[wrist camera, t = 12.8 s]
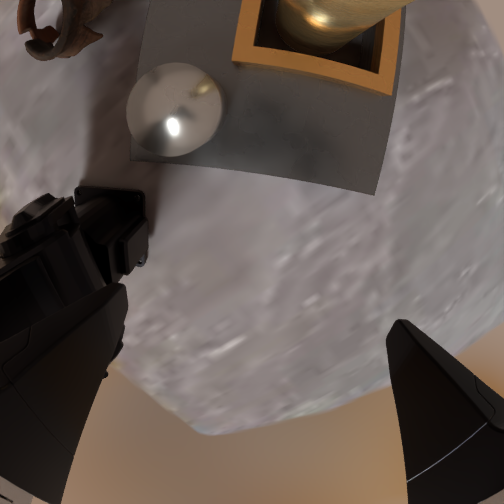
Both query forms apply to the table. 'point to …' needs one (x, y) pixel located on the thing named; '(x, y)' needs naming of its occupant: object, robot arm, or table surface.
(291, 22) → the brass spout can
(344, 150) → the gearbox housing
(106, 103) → the table surface
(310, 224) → the table surface
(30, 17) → the pottery mug
